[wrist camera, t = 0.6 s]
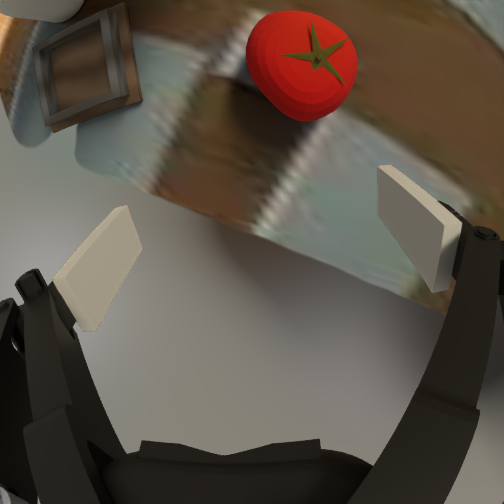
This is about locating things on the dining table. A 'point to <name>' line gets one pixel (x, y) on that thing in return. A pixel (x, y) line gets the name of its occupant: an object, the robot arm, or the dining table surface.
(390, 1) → the dining table surface
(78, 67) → the bottle stand
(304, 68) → the tomato
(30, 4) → the milk bottle
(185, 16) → the dining table surface
